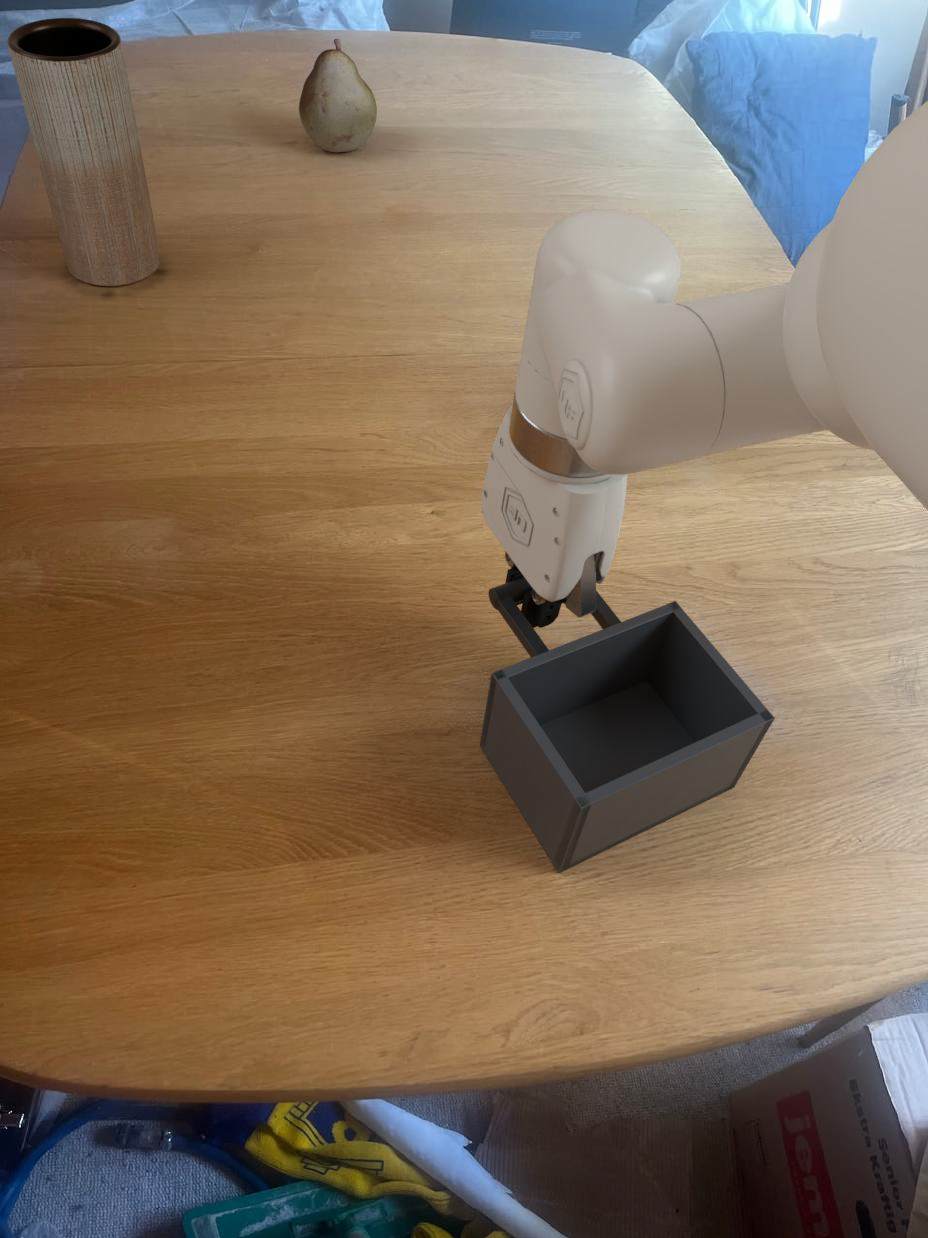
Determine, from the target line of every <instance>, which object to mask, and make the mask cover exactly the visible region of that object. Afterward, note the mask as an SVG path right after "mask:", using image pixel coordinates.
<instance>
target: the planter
mask: <svg viewBox="0 0 928 1238" xmlns="http://www.w3.org/2000/svg"><path fill="white" fill-rule="evenodd" d="M7 48H8V51H9V56H10V60H11V63H12V66H13V70H14V74H15V77H16V82H17V85H18V89H19V93H20V96H21V100H22V104H23V107H24V111H25V115H26V120H27V123H28V127H29V130H30V134H31V139H32V142H33V146H34V150H35V153H36V156H37V157H36V158H37V161H38V165H39V168H40V172H41V176H42V179H43V183H44V188H45V191H46V195H47V198H48V202H49V206H50V210H51V213H52V218H53V221H54V224H55V229H56V231H57V236H58V240H59V243H60V248H61V251H62V256H63V259H64V262H65V265H66V267H67V270H68V272H69V273H70V275H72V276H73V277H74V278H75V279H77V280H79V281H81V282H84V283H86V284H89V285H94V286H99V287H119V286H126V285H131V284H134V283H137V282H140V281H143V280H144V279H146V278H147V277H149V276H151V275H152V274H153V273H155V271H157V269H158V268H159V266H160V264H161V254H160V246H159V241H158V235H157V230H156V224H155V218H154V214H153V213H154V212H153V208H152V207H153V206H152V203H151V197H150V196H151V195H150V192H149V186H148V181H147V175H146V169H145V164H144V159H143V152H142V148H141V142H140V137H139V131H138V126H137V120H136V115H135V110H134V103H133V99H132V93H131V87H130V82H129V81H130V80H129V74H128V71H127V65H126V60H125V54H124V48H123V44H122V39H121V36H120V34H119V33H118V31H116V29H114V28H113V27H111V26H109V25H107V24H105V23H102V22H100V21H96V20H92V19H85V18H77V17H55V18H46V19H45V18H44V19H40V20H35V21H32V22H28V23H25V24H23V25H21V26H18V27H17V28H15V29H14V30H13V31H12V32H10V34H9V35H8V37H7Z"/></svg>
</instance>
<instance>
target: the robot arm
mask: <svg viewBox="0 0 928 1238" xmlns="http://www.w3.org/2000/svg"><path fill="white" fill-rule="evenodd" d="M681 262H682V261H681V256H680V253H679V251H678V248H677V246H676V244H675V242H674V240H673V239H672V238H671V236H670V235H668V233H667V232H665V230H663V229H662V227H659V226H658V225H657V224H655V223H654V222H652V221H651V220H649V219H647V218H645V217H642V216H640V215H637V214H635V213H632V212H627V211H624V210H619V209H612V208H611V209H609V208H590V209H583V210H580V211H576V212H573V213H570V214H568V215H566V216H563V217H562V218H560V219H559V220H558V221H556V222H555V223H554V224H552V226H551V227H549V229H548V230H547V232H545V235H544V236H543V237H542V240H541V242H540V244H539V247H538V252H537V254H536V258H535V265H534V270H533V276H532V284H531V290H530V296H529V301H528V307H527V313H526V320H525V327H524V333H523V339H522V345H521V351H520V356H519V357H520V358H519V363H518V368H517V369H518V370H517V376H516V382H515V388H514V394H513V400H512V405H511V406H510V407H509V408H508V409H507V411H506V413H505V415H504V417H503V419H502V421H501V422H500V426H499V428H498V430H497V432H496V436H495V439H494V441H493V444H492V448H491V450H490V451H491V452H490V454H489V459H488V464H487V467H486V472H485V476H484V481H483V488H482V493H481V501H480V502H481V503H480V511H481V514H482V517H483V519H484V521H485V523H486V524H487V527H488V528H489V530H490V531H491V532H492V534H493V535H494V537H495V538H496V540H497V541H498V542H499V544H500V545H501V547H502V548H503V550H504V551H505V552H504V558H505V562H506V564H507V565H508V566H509V567H510V568H509V569H507V571H506V577H505V582H504V584H505V583H508V582H511V581H513V580H516V579H519V578H522V577H525V579H526V580H527V581H528V583H529V584H530V585H531V586H532V590H531V591H528V592H527V593H525V595H524V599H523V601H520V602H518V603H516V605H517V606H520V605H521V609H520V610H521V612H522V613H523V615H524V616H525V617H526V619H527V620H528V622H529V623H530V624H531V626H532V627H533V629H535V628H537V627H538V628H540V629H541V628H544V627H547V626H549V625H551V624H553V623H554V622H555V621H556V619H558V617H559V614H560V611H561V608H562V604H563V605H565V608H566V609H567V610H568V611H569V612H571V613H572V614H573V615H574V616H576V617H577V618H583V617H585V616H589V615H592V614H591V613H593V612H595V611H596V591H597V585H601V584H603V582H604V581H605V579H606V577H607V576H608V574H609V571H610V568H611V566H612V563H613V560H614V557H615V553H616V549H617V546H618V542H619V538H620V533H621V529H622V523H623V518H624V511H625V506H626V505H625V504H626V496H627V488H628V487H627V486H628V475H629V474H636V473H640V472H643V471H648V470H653V469H658V468H662V467H666V466H671V465H675V464H680V463H684V462H689V461H693V460H697V459H699V458H702V457H703V458H704V457H708V456H712V455H716V454H721V453H725V452H730V451H733V450H738V449H743V448H746V447H752V446H757V445H760V444H765V443H766V444H767V443H770V442H776V441H780V440H785V439H790V438H793V437H799V436H803V435H810V434H813V433H819V432H824V431H825V432H826V431H829V432H830V433H831V434H833V435H835V437H838V438H839V439H841V440H843V441H844V442H846V443H849V444H851V445H853V446H855V447H857V448H858V447H859V448H861V449H864V450H869V451H871V450H872V451H874V452H875V453H876V454H877V455H878V457H879V458H880V459H881V460H882V461H883V462H884V463H885V464H886V465H887V466H888V467H889V468H890V470H891V471H892V472H893V473H894V474H895V475H896V477H897V478H898V479H899V480H900V481H901V482H902V483H903V485H904V486H905V487H906V489H908V490H909V492H910V493H911V494H912V495H913V496H914V497H915V499H916V500H917V501H918V502H919V503H920V504H921V505H922V506H923V507H924V509H926V511H928V100H927V101H926V102H924V103H923V104H922V105H920V106H919V107H918V108H917V109H916V110H914V111H913V112H912V113H911V114H909V115H908V116H906V118H905V119H903V120H902V121H901V122H900V123H898V125H896V126H895V127H893V129H892V130H891V131H890V132H889V133H888V135H887V136H886V137H885V138H884V139H883V141H882V142H881V143H880V144H879V146H878V147H876V149H875V150H874V151H873V152H872V154H871V155H870V156H869V157H868V158H867V159H866V160H865V161H864V163H862V165H861V166H860V168H859V170H858V172H857V173H856V175H855V176H854V177H853V180H852V181H851V182H850V184H849V186H848V187H847V189H846V191H845V192H844V194H843V195H842V196H841V199H840V201H839V204H838V206H837V208H836V210H835V213H834V215H833V218H832V220H831V221H829V223H828V224H827V225H825V227H823V228H822V229H821V230H819V232H818V233H817V234H816V235H815V237H814V238H813V239H812V241H811V242H810V243H809V244H808V245H807V247H806V248H805V250H804V251H803V252H802V255H800V258H799V260H798V261H797V263H796V265H795V268H794V270H793V272H792V275H791V277H790V281H789V282H787V283H783V284H778V285H773V286H769V287H764V288H757V289H753V290H746V291H745V290H744V291H739V292H737V291H736V292H732V293H725V294H721V295H720V294H719V295H715V296H714V295H713V296H709V297H704V298H700V299H699V298H698V299H694V300H689V301H683V302H682V301H681V302H676V303H675V301H676V297H677V292H678V290H679V285H680V281H681V276H682V263H681Z"/></svg>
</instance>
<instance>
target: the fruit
mask: <svg viewBox="0 0 928 1238" xmlns="http://www.w3.org/2000/svg"><path fill="white" fill-rule="evenodd" d="M333 44H334V45H335V48H332V49H330V48H329V49H325V50H323V51H322V52H320V53H319V55H318V56H317V57H316V59H315V61H314V65H313V68H312V69H311V72H310V73H309V75H308V76H307V77H306V79H305V81H304V83H303V86H302V90H301V94H300V98H299V103H298V113H299V119H300V122H301V124H302V127H303V129H304V131H305V132H306V133H307V135H308V136H309V137H310V138H311V139H312V141H313V143H314V144H315V145H316V146H318V147H319V148H320V149H321V150H324V151H327V152H329V153H342V152H345V153H346V152H351V151H356V150H358V149H360V148H362V147H364V145H365V144H366V143H367V141H368V140H369V138H370V137H371V135H372V133H373V131H374V129H375V126H376V122H377V116H378V106H377V102H376V101H377V100H376V98H375V96H374V92H373V91H372V89H371V88H370V86H369V85H368V84H367V82H365V80H364V79H363V78H362V77H361V75H360V73H359V70H358V67H357V65H356V63H355V61H354V60H353V59H352V58H351V56H349V55H348V54H347V53H345V52H344V51H343V50H342V47H341V46H342V45H341V39H339V38H335V39H334V40H333Z"/></svg>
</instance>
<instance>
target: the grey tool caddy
mask: <svg viewBox="0 0 928 1238" xmlns="http://www.w3.org/2000/svg"><path fill="white" fill-rule="evenodd" d="M531 590H532V586H531V585H530V584H529V583H528V581H527V580H526V579H525V577H522V578H519V579H516V580H513V581H511V582H508V583H505V582H504V583H503V584H500V585H497V586H494V587H491V588H489V590H488V598H489V602H490V604H491V606H492V607H493V609H494V610H497V612H498V613H499V614H500V615H501V617H502V618H503V620H504V621H505V623H506V624H507V625H508V627H509V628H510V630H511V631H512V632H513V634H514V636H515V637H516V638H517V640H518V641H519V643H520V644H521V646H522V647H523V648H524V650H525V651H526V653H527V654H528V655H529V658H526V659H523V660H521V661H518V662H516V663H514V664H511V665H508V666H506V667H503V668H500V669H498V670H495V671H493V672H491V675H490V680H489V685H488V686H489V687H488V693H487V697H486V698H487V699H486V704H485V711H484V717H483V723H482V729H481V734H480V735H481V736H480V741H479V747H480V749H481V751H482V752H483V754H484V755H485V757H486V758H487V760H488V762H489V763H490V765H491V767H492V768H493V770H494V772H495V773H496V775H497V776H498V778H499V780H500V782H501V783H502V785H503V786H504V788H505V790H506V791H507V793H508V795H509V796H510V798H511V799H512V801H513V802H514V804H515V805H516V807H517V809H518V811H519V812H520V814H521V815H522V817H523V819H524V821H525V822H526V824H527V825H528V826H529V829H530V830H531V831H532V833H533V835H534V836H535V838H536V840H537V841H538V842H539V844H540V846H541V847H542V850H543V851H544V852H545V854H546V856H547V858H548V859H549V860H550V862H551V863H552V865H553V867H554V869H555V870H556V872H557V873H558V874H561V873H563V872H565V871H567V870H569V869H571V868H574V867H575V866H577V865H579V864H581V863H583V862H585V861H587V860H589V859H591V858H594V857H595V856H598V855H600V854H601V853H604V852H606V851H608V850H609V849H611V848H614V847H616V846H618V845H620V844H622V843H624V842H626V841H628V840H630V839H632V838H634V837H636V836H638V835H640V834H642V833H645V832H646V831H648V830H650V829H652V828H654V827H657V826H659V825H660V824H662V823H665V822H667V821H669V820H671V819H673V818H675V817H677V816H679V815H681V814H683V813H685V812H687V811H689V810H691V809H693V808H695V807H698V806H699V805H702V804H703V803H706V802H708V801H710V800H711V799H713V798H716V797H718V796H720V795H721V794H724V793H726V792H728V791H730V790H732V789H735V787H736V785H737V784H738V782H739V781H740V779H741V777H742V775H743V774H744V772H745V770H746V768H747V766H748V765H749V764H750V761H751V760H752V758H753V756H754V755H755V754H756V751H757V749H758V748H759V746H760V745H761V742H762V741H763V739H764V738H765V736H766V735H767V733H768V731H769V729H770V727H771V726H772V724H773V722H774V721H775V716H774V715H773V714H772V712H770V710H769V709H768V708H767V707H766V706H765V705H764V704H763V702H762V701H761V700H760V699H759V698H758V696H757V695H756V694H755V692H753V690H752V689H751V687H749V686H748V685H747V683H746V682H745V681H744V680H743V678H742V677H741V676H740V675H739V674H738V673H737V671H736V670H735V669H734V668H733V667H732V666H731V664H730V663H729V662H728V661H727V660H726V659H725V657H724V656H723V655H722V654H721V652H720V651H718V649H717V648H716V647H715V646H714V644H713V643H712V642H711V641H710V640H709V638H708V637H707V636H706V635H705V634H704V633H703V631H701V629H700V628H699V627H698V626H697V624H695V622H694V620H693V619H692V618H690V616H689V615H688V614H687V613H686V611H685V610H684V608H683V607H682V606H681V605H680V604H679V603H678V602H677V601H676V600H674V601H671V602H668V603H666V604H664V605H661V606H659V607H657V608H654V609H650V610H648V611H646V612H643V613H641V614H639V615H636V616H634V617H631V618H628V619H625V620H623V621H621V620H620V618H619V616H617V614H616V613H615V612H614V610H613V609H612V607H610V606H609V604H608V603H607V602H606V601H605V599H604V598H603V597H602V596H601V595H600V593H599V592H598V591H597V590H596V611H595V612H593V613H591V614H590V615H591V616H592V617H593V618H594V620H595V621H596V623H597V624H598V625H599V626H600V627H601V629H600V630H598V631H595V632H593V633H592V632H591V633H590V634H587V635H585V636H583V637H580V638H578V639H575V640H572V641H570V642H567V643H565V644H562V645H559V646H557V647H555V648H552V649H549V648H548V647H547V645H546V643H545V642H544V640H543V639H542V638H541V637H540V635H539V634H538V632H537V631H536V629H535V628H533V627H532V626H531V624H530V623H529V622H528V620H527V619H526V617H525V616H524V615H523V613H522V612H521V609H520V607H519V605H516V603H518V602H520V601H523V599H524V595H525V593H527V592H528V591H531Z"/></svg>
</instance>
